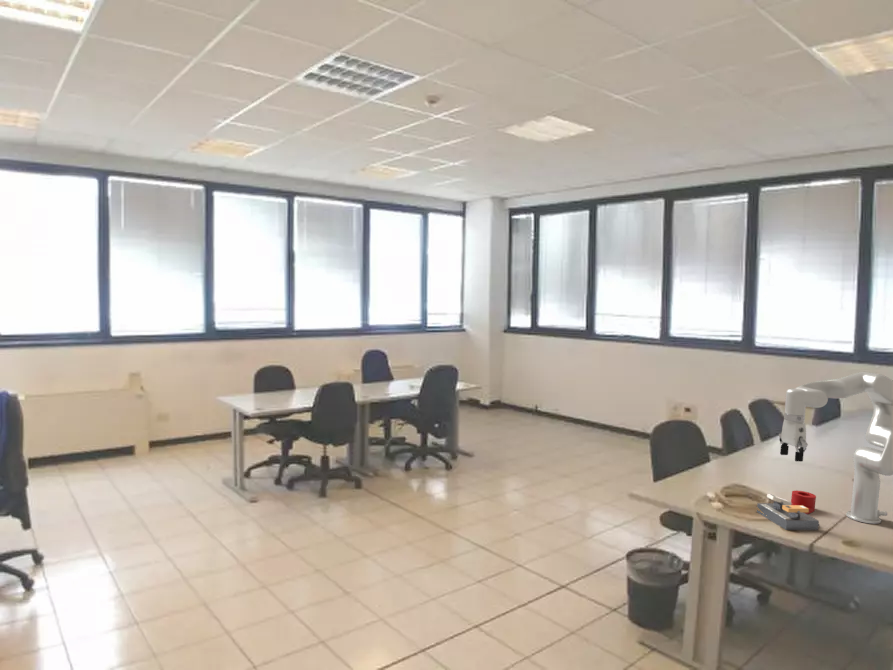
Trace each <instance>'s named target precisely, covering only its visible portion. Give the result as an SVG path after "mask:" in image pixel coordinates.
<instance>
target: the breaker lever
mask: <svg viewBox="0 0 893 670" xmlns="http://www.w3.org/2000/svg"><path fill="white" fill-rule="evenodd" d="M782 509H783V510H785V511H787V512H797V513H800V512H805V513H809V509H808V508H806V507H805V506H803V505H782Z"/></svg>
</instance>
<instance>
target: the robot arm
mask: <svg viewBox="0 0 893 670" xmlns="http://www.w3.org/2000/svg"><path fill="white" fill-rule="evenodd" d="M863 393H866V395H867V397H868V399H869V400H870V402H871V405H872V407H873V412H872V415H871V416H872V417H871V419H870V422H869V424H868V427H867V429H866V433H865V438H864V439H865V440H866V443H869V445H872V446H875V447H879V448H881V449H883V451H882V450H880V449H877V448H873V447H870V446H859V447H858V448H856V449H855V451H854V452H853V454H852V462H853V470H854V472H853V484H852V496H851V505H850V506H851V507H850V510H848V511H847V512H845V515H846V517H848V519H851V520H853V521H856V522H861V523H865V524H871V525H872V524H874V525H877V524H880V523H882V519H881V517H886V516H888V512H887V511H885V510H883V511H882V510H880V509H879V500H880V489H881V477H880V475H882V476H886V477H887V476H888V477H891V476H893V379H892V378H890V377H888V376H886V375H884V374H881V373H877V372H876V373H875V372H870V371H869V372H868V371H859V372H855V373H851V374H848V375H847V376H842V377H839V378H835V379H828V380H826V379H825V380H819V381H813V382H808V383H805V384H804V383H803V384H802V385H799V386H796V387H795V388H788V389H786V391H785V404H784V417H783V422H782V426H781V427H782V428H781V432H779V433H778V438H779V439H778V440H779V442H780V443H779V445H780V451H779V452H780V455H781V456H788V455H789V446H793V447H795V455H794V461H795V462H804V454H805V451H807V447H808V446H809V444H808V442H807V427H806V422H805V419H806V409H807V408H806V407H809V408H814V409H815V408H817V409H818V408H822V407H825V406H826V405H827V403H828V400H829V399H847V398H850V397H853V396H856V395H859V394H863Z"/></svg>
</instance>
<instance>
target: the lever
mask: <svg viewBox="0 0 893 670" xmlns="http://www.w3.org/2000/svg"><path fill="white" fill-rule="evenodd" d="M790 499H791V500H790V502H791V505H803V506H805V507H806V508H808V509H809V513H806V514H807V515H810V514H812V513H814V512H815V508H816V501H817V495H816V494H814V493H811V492H808V491H804V490H792V491H791V497H790ZM804 513H805V512H804Z"/></svg>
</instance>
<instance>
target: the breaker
mask: <svg viewBox="0 0 893 670" xmlns="http://www.w3.org/2000/svg"><path fill="white" fill-rule="evenodd" d="M766 498H767V499H770V500H772V501H773V502H774V501H777V502H779V503H781V504H785V505H791V501H789V500H787V499H785V498H781V497H779V496H776V495H774V494H770V493H767V495H766Z"/></svg>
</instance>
